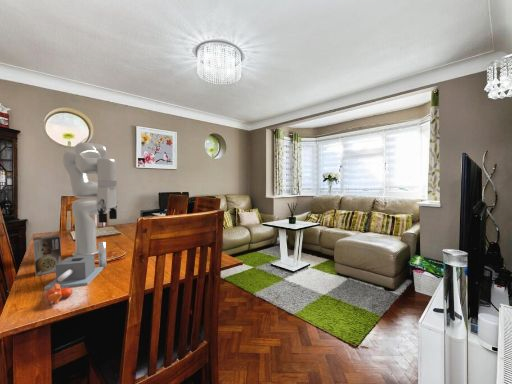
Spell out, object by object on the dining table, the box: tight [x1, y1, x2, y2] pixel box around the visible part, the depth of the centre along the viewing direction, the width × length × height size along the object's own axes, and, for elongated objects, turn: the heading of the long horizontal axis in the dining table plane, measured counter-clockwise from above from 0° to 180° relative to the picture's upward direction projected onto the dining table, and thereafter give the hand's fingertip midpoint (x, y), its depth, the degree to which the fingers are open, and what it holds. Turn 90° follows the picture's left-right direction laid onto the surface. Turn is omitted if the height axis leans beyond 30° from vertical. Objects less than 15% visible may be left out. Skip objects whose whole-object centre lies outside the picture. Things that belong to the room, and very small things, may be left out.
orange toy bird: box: [44, 284, 73, 305], centre depth 80 cm, size 5×8×12 cm
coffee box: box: [32, 234, 63, 277], centre depth 105 cm, size 9×6×16 cm
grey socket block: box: [44, 255, 104, 291], centre depth 96 cm, size 22×14×8 cm, turn 17°
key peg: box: [97, 241, 107, 269], centre depth 111 cm, size 3×3×12 cm
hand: (108, 220), depth 109 cm, fingers open, 9 cm apart
